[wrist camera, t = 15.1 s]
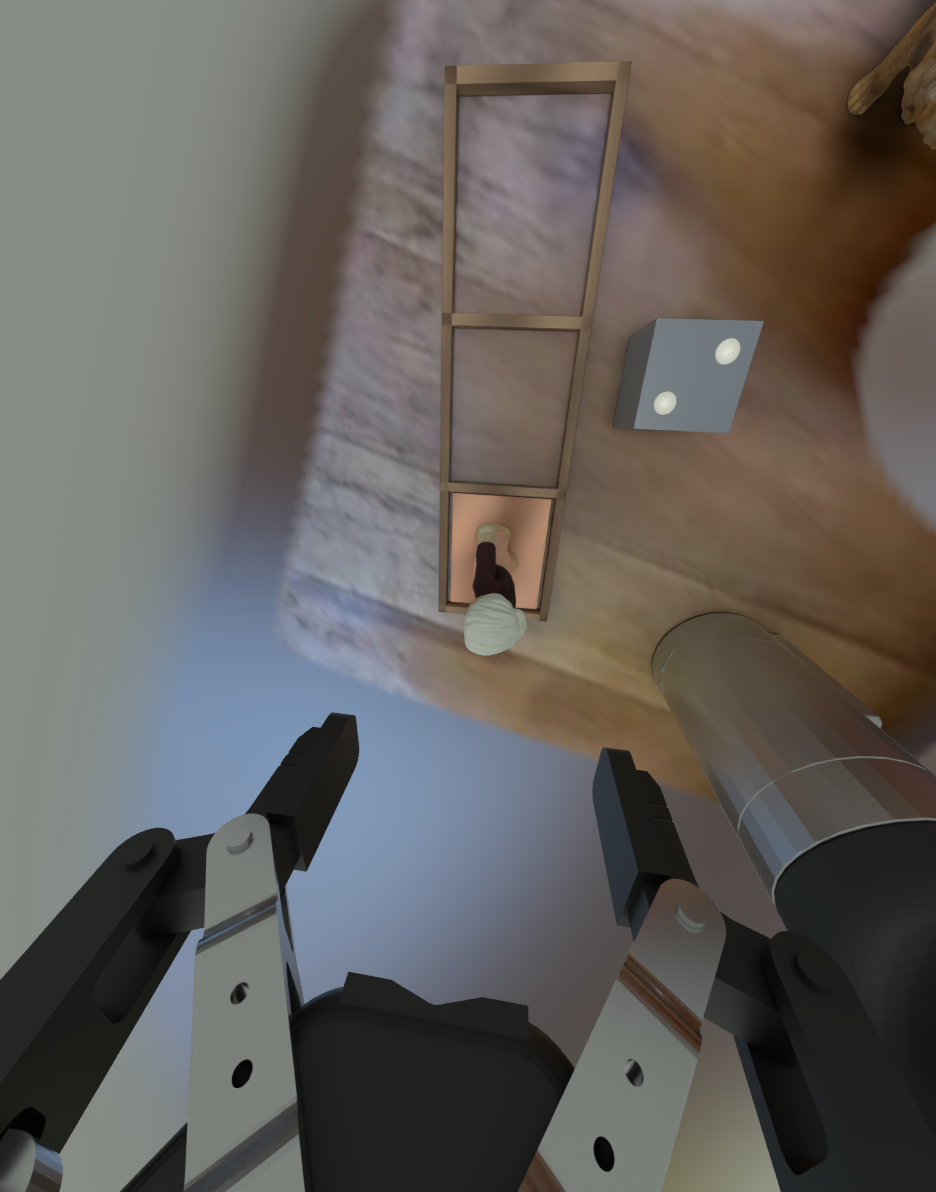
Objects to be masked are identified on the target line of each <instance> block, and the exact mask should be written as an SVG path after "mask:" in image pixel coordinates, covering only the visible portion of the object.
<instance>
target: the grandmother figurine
mask: <svg viewBox="0 0 936 1192" xmlns="http://www.w3.org/2000/svg"><path fill="white" fill-rule="evenodd" d="M475 540H476V542H477V544H478V546H477V551H476V557H475V559H474V581H473V586H472V587H473V591H474V594H475V598H476V599H475V600H474V601H472V603H471V604H470V605H469V607H468V609H467V611H466V616H465V623H464V637H465V645H466V647H467V648H468V649H469V650H470V651H471V652H474V653H476V654H479V655H493V654H497V653H500V652H502V651H505V650H507V649H508V648H510V647H512V646H513V645H514V644H515V643H516V642H517V640H518V639H519V638H520V637H522V636H523V635H524V633H525V631H526V629H527V622H526V616H525V614H524V612H523V611H522V610H520V609H516V608H515V606H516V594H515V584H514V582H513V575H512V571H513V570H515V569H516V568H517V567H518V559H517V556H516V555H515V554H514V553H512V552H508V550H507V548H508V543H509V542H510V540H511V532H510V530H509V529H508V528H507V527H505V526H502V525H496V524H489V523H484V524H481V525H479V526H478V527H477V529H476V531H475Z"/></svg>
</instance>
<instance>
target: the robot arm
mask: <svg viewBox="0 0 936 1192" xmlns="http://www.w3.org/2000/svg"><path fill="white" fill-rule="evenodd" d="M652 671H653V676H654V679H655V681H656V683H657V685H658V687H659V689H660V691H661V693H662V695H663V697H664V699H665V700H666V702H667V704H668V706H669V708H670V710H671V712H672V714H673V716H674V718H675V720H676V722H677V723H678V725H679V727H680V729H681V731H682V733H683V735H684V737H685V738H686V740H687V742H688V744H689V746H690V748H691V750H692V752H693V753H694V755H695V757H696V759H697V761H698V763H699V765H700V767H701V768H702V770H703V772H704V774H705V776H706V778H707V780H708V782H709V783H710V785H711V787H712V789H713V791H714V793H715V795H716V797H717V798H718V800H719V802H720V804H721V806H722V808H723V810H724V812H725V813H726V815H727V817H728V819H729V821H730V823H731V824H732V827H733V828H734V830H735V832H736V834H737V836H738V838H739V840H740V841H741V843H742V845H743V847H744V849H745V851H746V853H747V854H748V856H749V858H750V860H751V862H752V864H753V865H754V867H755V869H756V871H757V873H758V875H759V877H760V879H761V881H762V883H763V884H764V886H765V888H766V890H767V892H768V894H769V896H770V898H771V899H772V901H773V903H774V905H775V907H776V908H777V911H778V913H779V915H780V917H781V919H782V921H783V923H784V925H785V927H786V929H787V931H783V932H779V933H777V934H776V935H774V936H773V938H772V939H770V938H768V937H766V936H764V935H762V934H760V933H758V932H756V931H754V930H752V929H750V928H748V927H746V926H744V925H742V924H739V923H737V922H735V921H734V920H732V919H730V918H729V917H727V916H726V915H724V914H722V912H720V911H719V909H718V908H717V906H716V904H715V903H714V902H713V901H712V899H711V898H710V897H709V896H708V895H707V894H706V893H705V892H703V891H702V890H701V889H700V888H699V886H698V885H697V882H696V880H695V878H694V875H693V873H692V870H691V868H690V865H689V862H688V860H687V857H686V855H685V852H684V849H683V846H682V844H681V841H680V839H679V836H678V833H677V831H676V828H675V825H674V823H672V817H671V815H670V812H669V809H668V808H667V804H666V802H665V799H664V796H663V794H662V791H661V788H660V787H659V785H658V784H657V783H656V782H655V780H654V779H653V778H652V777H651V775H650V774H649V773H648V772H647V771H641V770H636V768H635V765H634V762H633V759H632V756H631V753H630V752H629V751H627V750H619V749H612V748H603V749H602V751H601V754H600V758H599V762H598V765H597V769H596V773H595V777H594V781H593V803H594V808H595V814H596V819H597V824H598V829H599V835H600V840H601V845H602V850H603V855H604V860H605V866H606V871H607V877H608V881H609V887H610V892H611V897H612V903H613V908H614V913H615V918H616V924H617V925H619V926H625V927H630V928H631V932H632V937H633V942H634V944H633V946H632V948H631V950H630V952H629V954H628V957H627V959H626V961H625V963H624V965H623V967H622V969H621V971H620V973H619V976H618V978H617V980H616V982H615V984H614V986H613V988H612V991H611V993H610V995H609V997H608V999H607V1002H606V1003H605V1006H604V1008H603V1010H602V1012H601V1014H600V1016H599V1018H598V1021H597V1023H596V1025H595V1027H594V1029H593V1031H592V1034H591V1036H590V1038H589V1040H588V1042H587V1044H586V1046H585V1049H584V1051H583V1053H582V1055H581V1057H580V1059H579V1062H578V1064H577V1066H576V1068H574V1067H573V1065H572V1064H571V1062H570V1061H569V1059H568V1058H567V1057H566V1055H565V1054H564V1053H563V1052H562V1050H561V1049H560V1048H559V1046H558V1045H557V1044H556V1043H555V1042H554V1041H552V1039H551V1038H550V1037H549V1036H548V1035H547V1034H545V1033H544V1032H543V1031H542V1030H540V1029H539V1028H538V1027H536V1026H535V1025H533V1024H531V1023H530V1022H528V1006H526V1005H521V1004H515V1003H510V1002H505V1001H500V1000H494V999H489V998H484V997H482V998H475V999H470V1000H464V1001H458V1002H453V1003H447V1004H441V1005H433V1004H430V1003H428V1002H427V1001H425V1000H423V999H422V998H420V997H419V996H417V995H415V994H414V993H412V992H410V991H409V990H407V989H405V988H404V987H402V986H400V985H399V984H397V983H395V982H394V981H392V980H389V979H384V978H379V977H373V976H368V975H363V974H358V973H352V972H348V975H347V978H346V981H345V984H344V987H340V988H336V989H333V990H330V991H327V992H325V993H323V994H321V995H319V996H317V997H315V998H313V999H312V1000H310V1001H309V1002H307V1003H306V1004H304V998H303V992H302V986H301V981H300V976H299V971H298V966H297V960H296V953H295V946H294V939H293V932H292V924H291V917H290V910H289V902H288V895H287V887H286V883H287V882H288V879H289V878H290V876H291V874H292V872H293V870H300V871H307V870H308V867H309V865H310V863H311V861H312V859H313V857H314V855H315V853H316V850H317V848H318V846H319V844H320V842H321V840H322V838H323V835H324V833H325V831H326V829H327V827H328V825H329V823H330V821H331V819H332V816H333V814H334V812H335V810H336V808H337V806H338V804H339V802H340V799H341V797H342V795H343V793H344V791H345V789H346V787H347V785H348V782H349V780H350V778H351V776H352V774H353V772H354V770H355V767H356V765H357V761H358V757H359V742H358V732H357V724H356V717H355V716H354V715H349V714H341V713H331V714H330V715H329V716H328V717H327V719H326V720H325V722H324V723H323V725H322V727H321V728H318V727H312V728H310V729H309V730H308V731H307V732H305V733H304V734H303V735H301V736H300V737H299V738H298V739H297V741H296V742H295V743H294V745H293V746H292V748H291V749H290V751H289V754H288V755H286V756H285V758H284V759H283V761H282V762H281V765H280V766H279V767H278V768H277V769H276V771H275V772H274V774H273V775H272V777H271V778H270V780H269V781H268V782H267V784H266V785H265V787H264V788H263V790H262V791H261V793H260V794H259V795H258V797H257V798H256V800H255V801H254V803H253V804H252V806H251V807H250V808H249V810H248V811H247V812H246V813H245V814H244V815H241V816H238V817H236V818H234V819H232V820H230V821H229V822H227V823H226V824H224V825H223V826H222V827H221V828H220V829H219V830H218V831H217V832H216V833H213V834H209V835H203V836H197V837H192V838H186V839H180V840H175V838H174V836H173V834H172V832H171V831H169V830H167V829H164V828H153V829H149V830H145V831H143V832H140V833H138V834H136V835H134V836H132V837H131V838H129V839H127V840H126V841H125V842H123V843H122V844H121V845H120V846H118V847H117V848H116V849H115V850H114V851H113V852H112V853H111V854H110V856H109V857H108V858H107V859H106V860H105V861H104V862H103V863H102V865H101V866H100V867H99V868H98V869H97V870H96V872H95V873H94V874H93V875H92V876H91V877H90V878H89V880H88V881H87V882H86V883H85V884H84V885H83V886H82V888H81V889H80V890H79V891H78V892H77V893H76V894H75V895H74V897H73V898H72V899H71V900H70V901H69V902H68V903H67V905H66V906H65V907H64V908H63V909H62V910H61V911H60V913H59V914H58V915H57V916H56V917H55V918H54V919H53V921H52V922H51V923H50V924H49V925H48V926H47V928H46V929H45V930H44V931H43V932H42V933H41V934H40V935H39V937H38V938H37V939H36V940H35V941H34V942H33V943H32V945H31V946H30V947H29V948H28V949H27V950H26V952H25V953H24V954H23V955H22V956H21V957H20V958H19V959H18V960H17V962H16V963H15V964H14V965H13V966H12V967H11V969H10V970H9V971H8V972H7V973H6V974H5V975H4V976H3V978H2V979H1V980H0V1192H59V1191H60V1188H61V1183H62V1176H63V1166H62V1161H61V1158H60V1156H59V1154H60V1152H61V1150H62V1149H63V1147H64V1145H65V1143H66V1142H67V1140H68V1138H69V1137H70V1135H71V1133H72V1132H73V1130H74V1128H75V1127H76V1125H77V1123H78V1121H79V1120H80V1118H81V1116H82V1115H83V1113H84V1111H85V1110H86V1108H87V1106H88V1104H89V1103H90V1101H91V1100H92V1098H93V1096H94V1094H95V1093H96V1091H97V1089H98V1088H99V1086H100V1084H101V1082H102V1081H103V1079H104V1077H105V1076H106V1074H107V1072H108V1071H109V1069H110V1067H111V1066H112V1064H113V1062H114V1060H115V1059H116V1057H117V1055H118V1054H119V1052H120V1050H121V1049H122V1047H123V1045H124V1044H125V1042H126V1040H127V1038H128V1037H129V1035H130V1033H131V1032H132V1030H133V1028H134V1026H135V1025H136V1023H137V1021H138V1020H139V1018H140V1016H141V1015H142V1013H143V1011H144V1010H145V1008H146V1006H147V1004H148V1003H149V1001H150V999H151V998H152V996H153V994H154V993H155V991H156V989H157V987H158V986H159V984H160V982H161V981H162V979H163V977H164V976H165V974H166V972H167V971H168V969H169V967H170V966H171V964H172V962H173V960H174V959H175V957H176V955H177V954H178V952H179V950H180V949H181V947H182V945H183V943H184V942H185V940H186V938H187V937H188V935H189V933H190V932H191V930H195V929H199V928H204V935H203V939H201V940H199V942H198V944H197V947H196V954H195V970H194V992H193V1016H192V1037H191V1059H190V1080H189V1102H188V1122H187V1123H186V1124H185V1125H184V1126H183V1127H182V1128H181V1129H180V1130H179V1131H178V1132H177V1133H176V1134H175V1135H174V1136H173V1137H172V1138H171V1139H170V1140H169V1142H168V1143H166V1145H164V1147H163V1148H162V1149H161V1150H160V1151H159V1152H158V1153H157V1154H156V1155H155V1156H154V1157H153V1158H152V1159H151V1160H150V1161H149V1162H148V1163H147V1164H146V1165H145V1166H144V1167H143V1168H142V1169H141V1170H140V1171H139V1173H138V1174H136V1175H135V1177H134V1178H133V1179H132V1180H131V1181H130V1182H129V1183H128V1184H127V1185H126V1186H125V1187H124V1188H123V1189H122V1190H121V1191H120V1192H661V1190H662V1187H663V1184H664V1180H665V1176H666V1173H667V1169H668V1165H669V1162H670V1158H671V1155H672V1151H673V1147H674V1144H675V1140H676V1137H677V1132H678V1129H679V1126H680V1122H681V1118H682V1114H683V1111H684V1107H685V1104H686V1100H687V1097H688V1093H689V1089H690V1086H691V1082H692V1078H693V1074H694V1071H695V1067H696V1064H697V1060H698V1056H699V1053H700V1048H701V1042H702V1036H701V1034H700V1027H701V1023H702V1020H703V1017H704V1018H706V1019H708V1020H710V1021H711V1022H713V1023H715V1024H716V1025H718V1026H720V1027H721V1028H723V1029H725V1030H727V1031H728V1032H730V1033H732V1034H733V1036H734V1039H735V1043H736V1046H737V1049H738V1053H739V1056H740V1059H741V1062H742V1066H743V1069H744V1072H745V1075H746V1079H747V1082H748V1085H749V1088H750V1092H751V1095H752V1099H753V1102H754V1105H755V1108H756V1112H757V1115H758V1118H759V1121H760V1125H761V1128H762V1131H763V1134H764V1138H765V1141H766V1145H767V1148H768V1151H769V1154H770V1158H771V1161H772V1164H773V1168H774V1171H775V1174H776V1177H777V1180H778V1184H779V1187H780V1191H781V1192H936V775H934V774H933V773H932V772H931V771H930V770H929V769H927V768H926V767H925V766H924V765H923V764H921V763H920V762H919V761H918V760H917V759H916V758H914V757H913V756H912V755H911V754H910V753H909V752H907V751H906V750H905V749H904V748H903V747H902V746H900V745H899V744H898V743H897V742H896V741H895V740H893V739H892V738H891V737H890V736H889V735H888V734H886V733H885V732H884V731H883V730H882V729H881V726H882V721H881V719H880V717H879V716H878V715H877V714H876V713H875V712H874V711H872V710H871V709H870V708H869V707H867V706H866V705H865V704H864V703H863V702H861V701H860V700H859V699H858V698H857V697H855V696H854V695H853V694H852V693H850V692H849V691H848V690H847V689H846V688H844V687H843V686H842V685H841V684H840V683H838V682H837V681H836V680H835V679H833V678H832V677H831V676H830V675H829V674H827V673H826V672H825V671H824V670H823V669H821V668H820V667H819V666H818V665H816V664H815V663H814V662H813V661H812V660H810V659H809V658H808V657H807V656H806V655H804V654H803V653H802V652H801V651H799V650H798V649H797V648H796V647H795V646H793V645H792V644H791V643H790V642H789V641H787V640H786V639H785V638H784V637H782V636H781V635H778V634H771V633H768V632H767V631H766V630H765V629H764V628H763V627H761V626H760V625H759V624H758V623H756V622H755V621H753V620H751V619H749V618H747V617H744V616H741V615H737V614H730V613H714V614H707V615H703V616H699V617H696V618H693V619H691V620H688V621H686V622H684V623H682V624H681V625H679V626H678V627H676V628H674V629H673V630H672V631H671V632H670V633H669V634H668V635H667V636H665V637H664V639H663V640H662V641H661V643H660V644H659V645H658V647H657V649H656V652H655V654H654V656H653V662H652Z"/></svg>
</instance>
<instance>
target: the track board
mask: <svg viewBox="0 0 936 1192" xmlns="http://www.w3.org/2000/svg"><path fill="white" fill-rule="evenodd" d="M631 62H632V61H623V62H585V63H546V64H508V65H469V66H445V103H444V191H443V279H442V367H441V455H440V543H439V612H447V613H458V614H466V611H467V609H468V607H469V605H470V604H467V603H472V601H474V600H475V599H476V598H475V594H474V591H473V587H472V586H473V581H474V559H475V557H476V551H477V546H478V544H477V542H476V540H475V531H476V529H477V527H478V526H479V525H481V524H484V523H489V524H496V525H502V526H505V527H507V528H508V529H509V530H510V532H511V540H510V542H509V543H508V548H507V550H508V552H512V553H514V554H515V555H516V556H517V559H518V567H517V568H516V569H515V570H513V571H512V575H513V582H514V584H515V594H516V606H515V607H518V608H516V609H520V610H522V611H523V612H524V614H525V616H526V620H535V621H547V615H548V608H549V602H550V595H551V589H552V582H553V575H554V569H555V562H556V556H557V549H558V543H559V536H560V529H561V523H562V516H563V510H564V503H565V497H566V490H567V483H568V477H569V470H570V464H571V457H572V451H573V444H574V437H575V431H576V424H577V418H578V411H579V404H580V398H581V391H582V385H583V378H584V372H585V365H586V358H587V352H588V345H589V339H590V332H591V326H592V319H593V312H594V306H595V299H596V293H597V286H598V280H599V273H600V266H601V260H602V253H603V247H604V240H605V233H606V227H607V220H608V214H609V207H610V201H611V194H612V187H613V181H614V174H615V168H616V161H617V155H618V148H619V141H620V135H621V128H622V122H623V115H624V109H625V102H626V95H627V89H628V82H629V76H630V69H631ZM582 93H612V99H611V106H610V113H609V120H608V127H607V134H606V141H605V148H604V155H603V162H602V170H601V177H600V184H599V191H598V198H597V205H596V212H595V219H594V226H593V233H592V241H591V248H590V255H589V262H588V269H587V276H586V283H585V290H584V297H583V304H582V312H581V317H573V316H536V315H498V314H461V313H454V283H455V238H456V193H457V148H458V103H459V96H480V95H531V94H582ZM453 328H474V329H507V330H541V331H574V332H579V333H578V340H577V347H576V354H575V361H574V368H573V376H572V383H571V390H570V397H569V404H568V411H567V418H566V425H565V432H564V439H563V447H562V454H561V461H560V468H559V475H558V482H557V488H554V487H538V486H522V485H506V484H490V483H474V482H458V481H450V462H451V418H452V373H453ZM450 491H453V492H454V493H453V521H452V559H451V598H450V602H447V597H448V552H449V507H450ZM458 492H469V493H458ZM473 493H484V494H473ZM488 494H499V495H488ZM504 495H515V496H504ZM519 496H530V497H519ZM534 497H546V498H534ZM550 498H555V503H554V510H553V518H552V525H551V532H550V539H549V546H548V553H547V560H546V567H545V574H544V581H543V589H542V596H541V603H540V610H534V609H536V608H537V601H538V593H539V586H540V579H541V572H542V564H543V557H544V550H545V542H546V535H547V528H548V520H549V513H550V506H551V499H550ZM455 602H461V603H455ZM523 608H529V609H523Z"/></svg>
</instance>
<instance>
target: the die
mask: <svg viewBox="0 0 936 1192" xmlns="http://www.w3.org/2000/svg"><path fill="white" fill-rule="evenodd" d="M763 322H764V321H740V320H702V319H665V318H657V319H655V320H654V321H652V322H651V323H649V324H648V325H647V326H645V327H644V328H642V329H641V330H639V331H638V332H636V333H635V334H633V335H632V336H630V337H629V343H628V348H627V353H626V359H625V364H624V369H623V374H622V380H621V385H620V390H619V395H618V401H617V406H616V411H615V416H614V422H613V426H614V427H623V428H633V429H651V430H672V431H692V432H712V433H729V431H730V428H731V424H732V421H733V418H734V415H735V412H736V408H737V405H738V402H739V399H740V396H741V392H742V389H743V386H744V383H745V380H746V376H747V373H748V370H749V367H750V364H751V361H752V357H753V354H754V351H755V348H756V345H757V341H758V338H759V335H760V332H761V329H762V325H763Z"/></svg>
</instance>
